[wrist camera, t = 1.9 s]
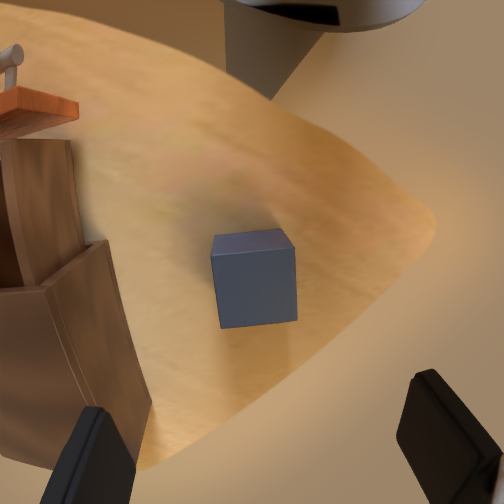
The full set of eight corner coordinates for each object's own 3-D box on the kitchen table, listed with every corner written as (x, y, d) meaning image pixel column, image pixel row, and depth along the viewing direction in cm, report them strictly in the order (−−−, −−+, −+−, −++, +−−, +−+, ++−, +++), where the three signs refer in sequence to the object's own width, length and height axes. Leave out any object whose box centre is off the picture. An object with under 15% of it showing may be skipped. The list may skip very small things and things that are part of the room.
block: (214, 235, 22) (210, 255, 17) (282, 228, 22) (294, 246, 17) (222, 297, 23) (220, 329, 19) (285, 290, 23) (297, 320, 19)
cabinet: (-13, 256, 21) (-82, 297, 12) (108, 239, 21) (44, 290, 12) (39, 395, 25) (2, 456, 16) (152, 401, 25) (132, 483, 17)
